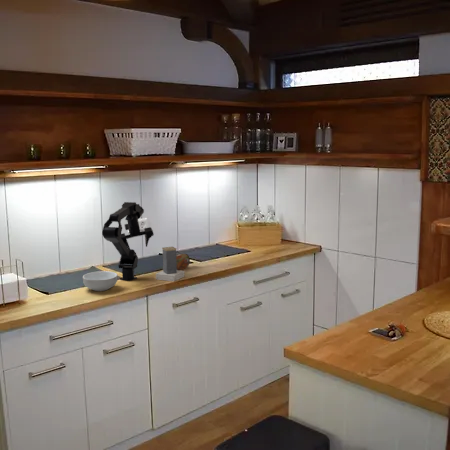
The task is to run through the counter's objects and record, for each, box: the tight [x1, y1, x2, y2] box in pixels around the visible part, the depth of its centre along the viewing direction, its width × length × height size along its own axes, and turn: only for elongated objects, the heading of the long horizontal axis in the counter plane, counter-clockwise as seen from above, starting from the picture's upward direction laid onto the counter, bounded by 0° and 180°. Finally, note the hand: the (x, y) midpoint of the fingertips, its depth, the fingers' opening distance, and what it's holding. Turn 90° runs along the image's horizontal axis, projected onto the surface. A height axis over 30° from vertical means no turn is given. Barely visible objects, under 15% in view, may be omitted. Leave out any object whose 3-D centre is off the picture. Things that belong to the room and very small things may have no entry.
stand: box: [155, 270, 185, 282], centre depth 292 cm, size 11×11×3 cm
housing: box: [161, 246, 178, 274], centre depth 290 cm, size 6×6×13 cm
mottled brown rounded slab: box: [176, 253, 191, 271], centre depth 310 cm, size 15×3×8 cm, turn 143°
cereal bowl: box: [82, 270, 118, 292], centre depth 271 cm, size 17×17×7 cm
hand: (138, 248), depth 302 cm, fingers open, 9 cm apart
